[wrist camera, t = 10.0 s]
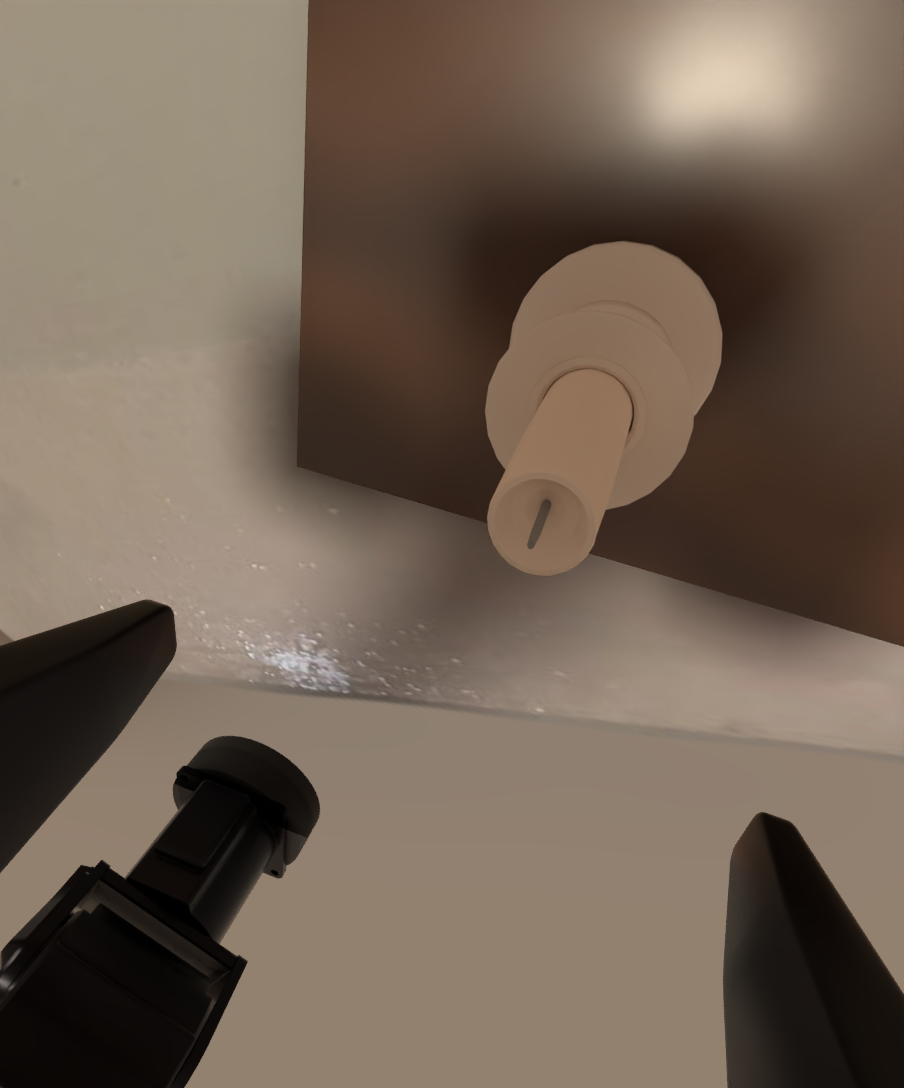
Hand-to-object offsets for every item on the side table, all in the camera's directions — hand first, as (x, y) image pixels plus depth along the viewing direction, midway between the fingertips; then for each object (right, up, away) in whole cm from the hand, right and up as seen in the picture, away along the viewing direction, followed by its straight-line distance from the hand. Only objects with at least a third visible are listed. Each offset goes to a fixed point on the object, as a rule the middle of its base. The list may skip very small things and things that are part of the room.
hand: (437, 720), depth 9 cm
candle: (+4, +8, +7) cm, 11 cm away
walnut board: (+6, +8, +7) cm, 12 cm away
